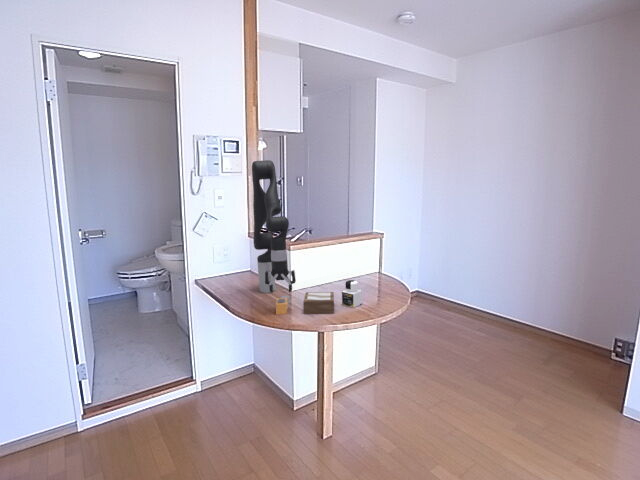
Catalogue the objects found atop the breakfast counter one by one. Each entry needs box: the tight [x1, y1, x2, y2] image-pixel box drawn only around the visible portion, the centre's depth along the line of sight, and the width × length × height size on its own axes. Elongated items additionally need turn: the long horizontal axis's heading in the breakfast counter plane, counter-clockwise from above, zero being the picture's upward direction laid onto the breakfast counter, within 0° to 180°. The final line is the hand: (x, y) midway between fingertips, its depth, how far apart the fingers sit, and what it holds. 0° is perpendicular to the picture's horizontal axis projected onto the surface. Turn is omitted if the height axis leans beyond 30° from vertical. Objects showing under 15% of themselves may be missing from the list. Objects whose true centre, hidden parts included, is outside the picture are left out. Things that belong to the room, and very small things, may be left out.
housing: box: [275, 297, 289, 315], centre depth 180 cm, size 9×5×5 cm, turn 2°
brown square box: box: [303, 291, 335, 315], centre depth 181 cm, size 14×14×6 cm
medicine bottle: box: [341, 279, 363, 308], centre depth 185 cm, size 7×7×12 cm
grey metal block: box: [280, 295, 291, 304], centre depth 192 cm, size 4×4×3 cm
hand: (281, 292), depth 179 cm, fingers open, 8 cm apart
